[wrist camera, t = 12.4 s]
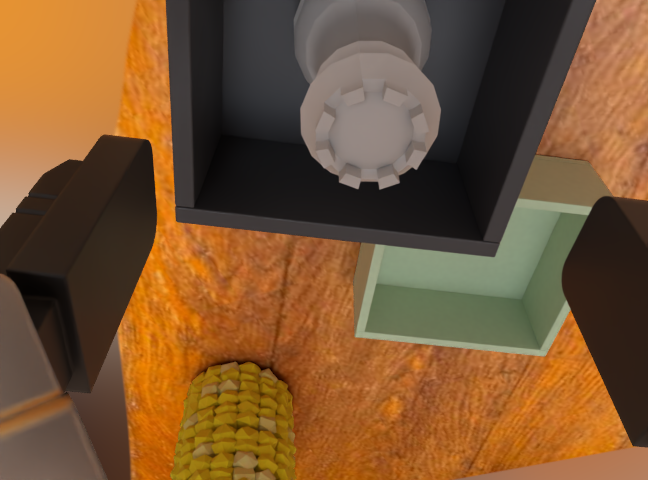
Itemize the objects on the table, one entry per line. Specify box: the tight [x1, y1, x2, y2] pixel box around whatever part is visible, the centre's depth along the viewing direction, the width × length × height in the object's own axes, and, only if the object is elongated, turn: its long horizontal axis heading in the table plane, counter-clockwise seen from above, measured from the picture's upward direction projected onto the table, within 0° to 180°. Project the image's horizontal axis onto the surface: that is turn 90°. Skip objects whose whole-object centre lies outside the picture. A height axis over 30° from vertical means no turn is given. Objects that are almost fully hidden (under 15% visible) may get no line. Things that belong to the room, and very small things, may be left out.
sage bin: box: [353, 155, 614, 356], centre depth 37 cm, size 12×13×6 cm
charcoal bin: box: [166, 0, 596, 257], centre depth 17 cm, size 10×10×6 cm
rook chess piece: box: [294, 0, 441, 189], centre depth 16 cm, size 4×4×8 cm
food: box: [170, 362, 296, 480], centre depth 45 cm, size 15×12×10 cm
